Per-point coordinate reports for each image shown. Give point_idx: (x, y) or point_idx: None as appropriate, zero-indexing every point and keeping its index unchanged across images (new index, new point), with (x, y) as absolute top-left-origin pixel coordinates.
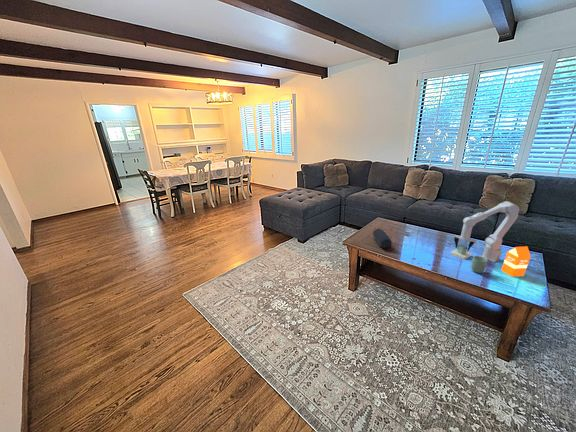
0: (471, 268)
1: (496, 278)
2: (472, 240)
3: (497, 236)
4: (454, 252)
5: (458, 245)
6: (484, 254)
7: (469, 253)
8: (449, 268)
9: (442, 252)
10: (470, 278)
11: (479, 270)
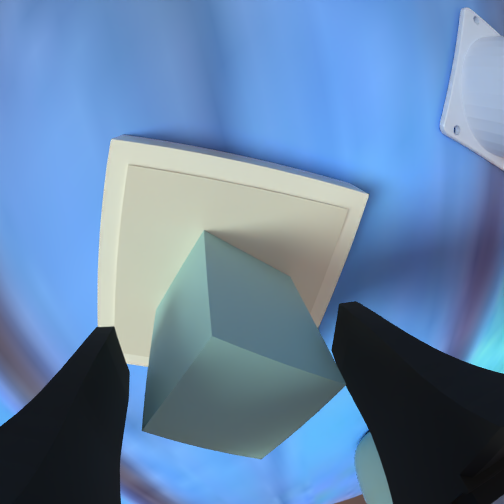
0: (354, 460)
1: None
2: None
3: None
4: (145, 356)
5: (148, 420)
6: (501, 138)
7: (340, 216)
8: (234, 499)
9: (40, 356)
10: (343, 488)
11: None
